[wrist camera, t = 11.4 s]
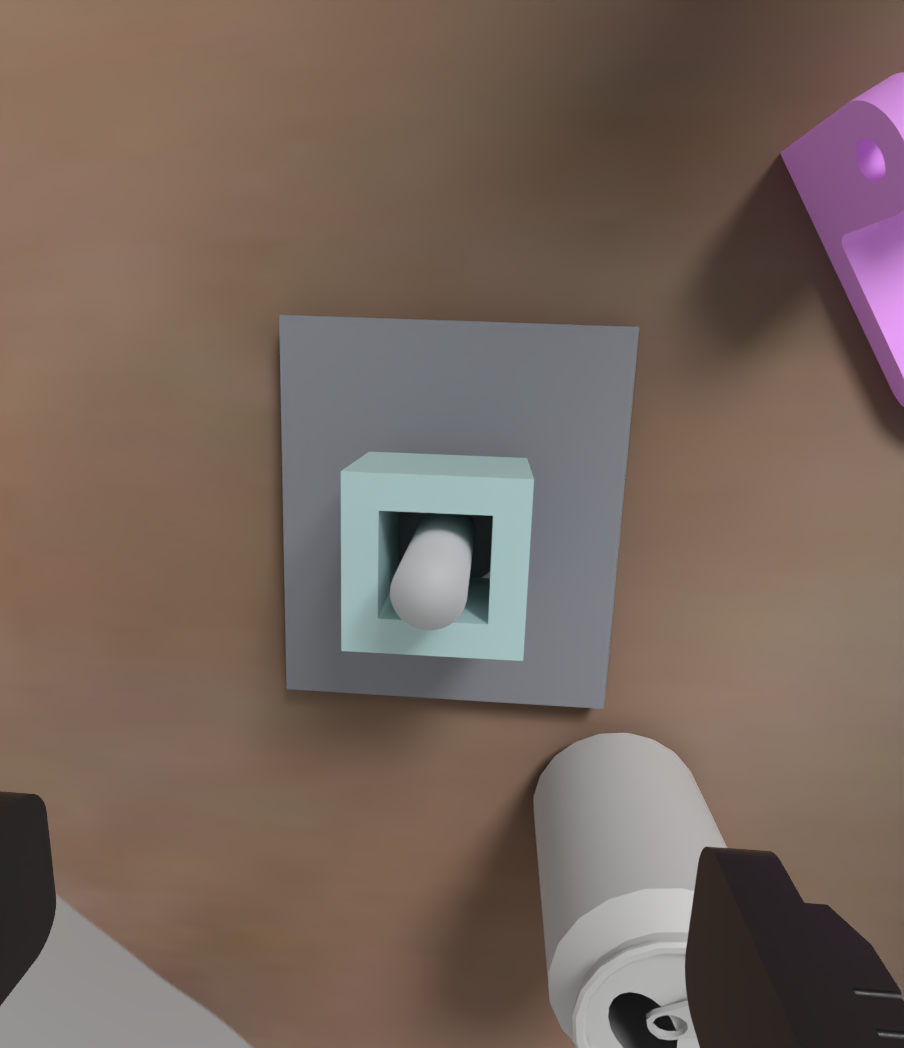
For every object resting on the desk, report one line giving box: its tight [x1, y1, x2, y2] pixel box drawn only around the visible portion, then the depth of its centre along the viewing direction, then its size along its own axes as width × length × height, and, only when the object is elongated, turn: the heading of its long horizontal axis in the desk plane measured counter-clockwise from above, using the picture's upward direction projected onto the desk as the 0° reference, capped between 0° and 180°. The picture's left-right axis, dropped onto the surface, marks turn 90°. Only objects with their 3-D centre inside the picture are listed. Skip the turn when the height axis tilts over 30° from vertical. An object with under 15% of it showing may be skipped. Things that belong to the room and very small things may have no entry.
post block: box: [279, 315, 639, 709], centre depth 25 cm, size 16×14×10 cm
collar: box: [341, 452, 534, 661], centre depth 25 cm, size 6×6×5 cm
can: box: [533, 733, 727, 1048], centre depth 27 cm, size 8×8×12 cm
